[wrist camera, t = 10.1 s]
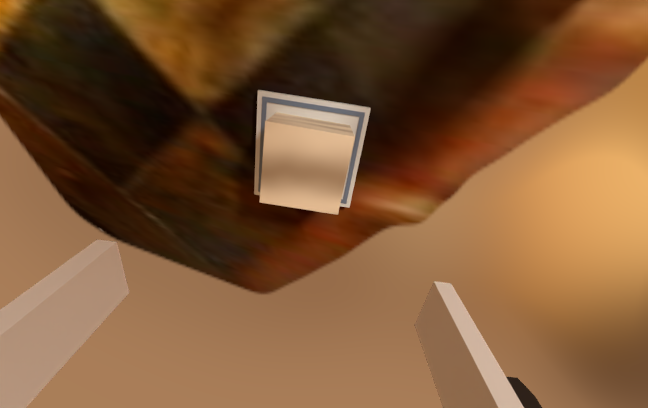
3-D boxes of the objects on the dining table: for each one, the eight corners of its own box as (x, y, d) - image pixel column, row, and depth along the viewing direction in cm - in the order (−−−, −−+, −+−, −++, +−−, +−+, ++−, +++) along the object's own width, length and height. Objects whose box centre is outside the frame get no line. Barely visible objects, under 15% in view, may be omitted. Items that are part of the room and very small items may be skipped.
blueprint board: (259, 89, 28) (257, 90, 27) (369, 107, 29) (370, 108, 28) (256, 191, 33) (253, 194, 32) (348, 204, 34) (349, 208, 33)
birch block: (276, 112, 28) (265, 121, 23) (349, 125, 29) (355, 136, 23) (270, 180, 32) (259, 202, 26) (335, 191, 32) (337, 214, 27)
